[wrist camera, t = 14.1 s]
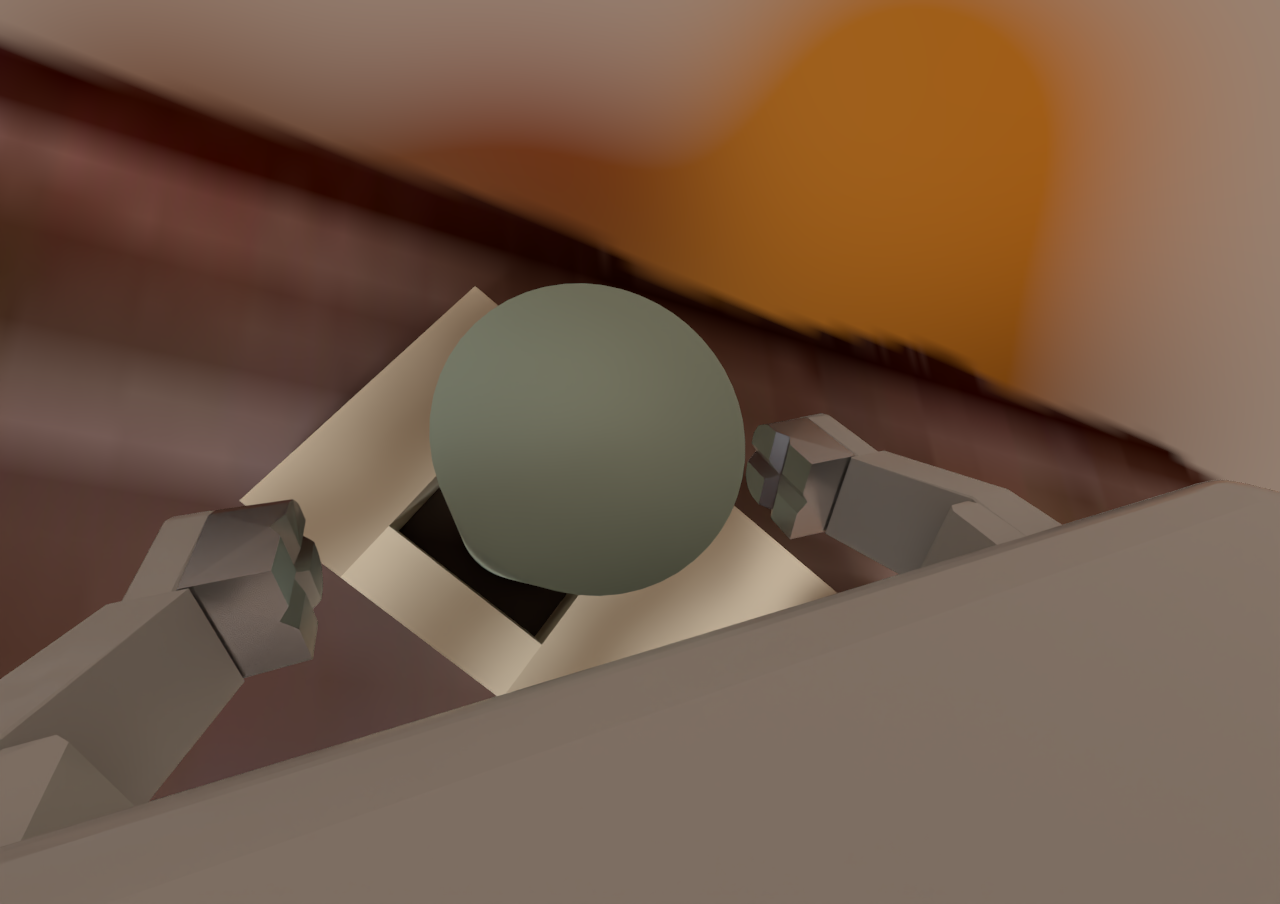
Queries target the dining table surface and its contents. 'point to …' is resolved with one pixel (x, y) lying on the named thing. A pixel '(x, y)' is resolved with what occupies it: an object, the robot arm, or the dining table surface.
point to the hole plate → (444, 604)
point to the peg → (586, 440)
